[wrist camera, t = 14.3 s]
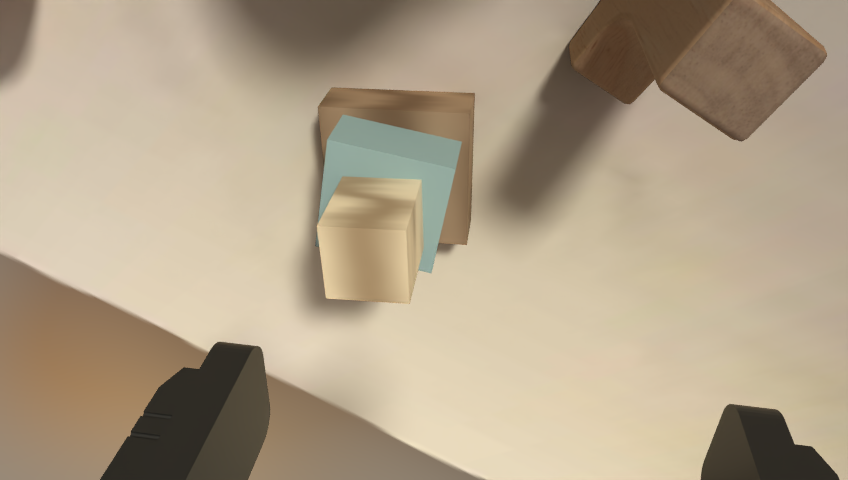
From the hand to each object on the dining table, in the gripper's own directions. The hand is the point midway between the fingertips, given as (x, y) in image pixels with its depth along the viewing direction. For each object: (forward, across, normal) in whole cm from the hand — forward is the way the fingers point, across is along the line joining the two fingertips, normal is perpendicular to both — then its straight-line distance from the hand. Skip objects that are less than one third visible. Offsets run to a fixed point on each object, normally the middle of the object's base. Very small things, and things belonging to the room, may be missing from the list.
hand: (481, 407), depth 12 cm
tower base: (+36, +7, +13) cm, 39 cm away
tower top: (+32, +7, +13) cm, 36 cm away
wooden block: (+36, -8, +2) cm, 37 cm away
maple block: (+28, +7, +14) cm, 32 cm away
